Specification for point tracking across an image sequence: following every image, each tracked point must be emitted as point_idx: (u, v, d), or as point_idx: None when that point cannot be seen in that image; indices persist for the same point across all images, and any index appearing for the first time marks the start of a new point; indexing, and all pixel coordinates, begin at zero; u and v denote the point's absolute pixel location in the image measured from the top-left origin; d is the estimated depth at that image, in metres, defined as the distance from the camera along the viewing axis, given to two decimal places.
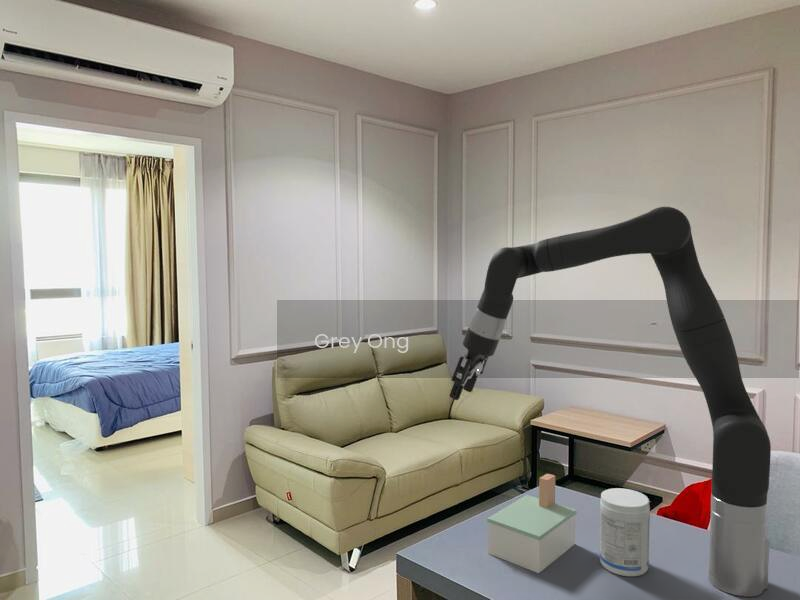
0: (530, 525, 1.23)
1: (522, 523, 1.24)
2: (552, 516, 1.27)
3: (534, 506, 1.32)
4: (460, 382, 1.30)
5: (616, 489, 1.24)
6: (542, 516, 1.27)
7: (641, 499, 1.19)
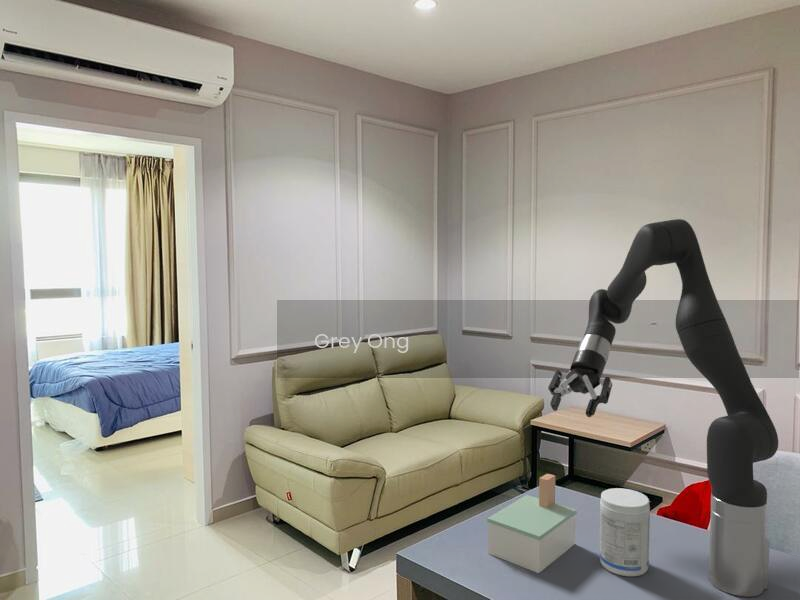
0: (530, 525, 1.23)
1: (522, 523, 1.24)
2: (552, 516, 1.27)
3: (534, 506, 1.32)
4: None
5: (616, 489, 1.24)
6: (542, 516, 1.27)
7: (641, 499, 1.19)
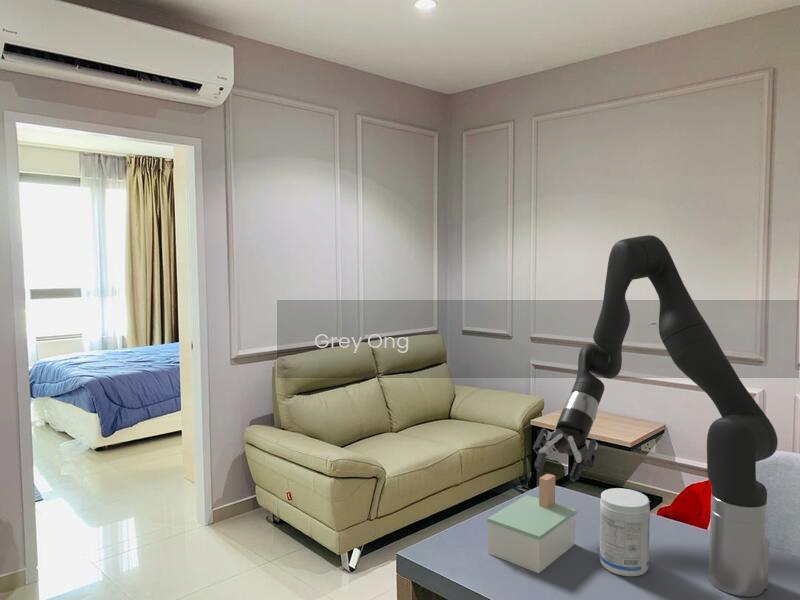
0: (530, 525, 1.23)
1: (522, 523, 1.24)
2: (552, 516, 1.27)
3: (534, 506, 1.32)
4: None
5: (616, 489, 1.24)
6: (542, 516, 1.27)
7: (641, 499, 1.19)
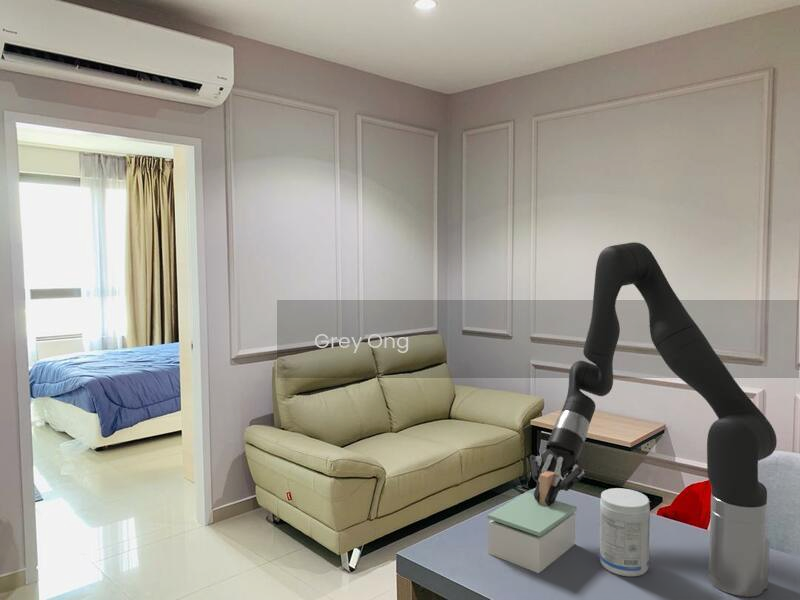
0: (530, 521, 1.23)
1: (522, 519, 1.24)
2: (552, 513, 1.27)
3: (534, 503, 1.32)
4: None
5: (616, 489, 1.24)
6: (542, 513, 1.27)
7: (641, 499, 1.19)
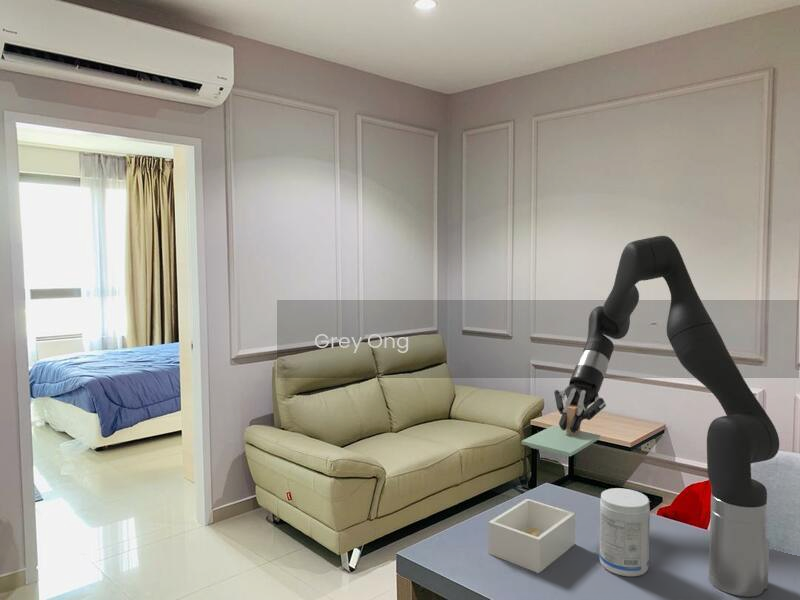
0: (561, 445, 1.38)
1: (554, 444, 1.39)
2: (579, 439, 1.42)
3: (562, 433, 1.47)
4: None
5: (616, 489, 1.24)
6: (570, 439, 1.42)
7: (641, 499, 1.19)
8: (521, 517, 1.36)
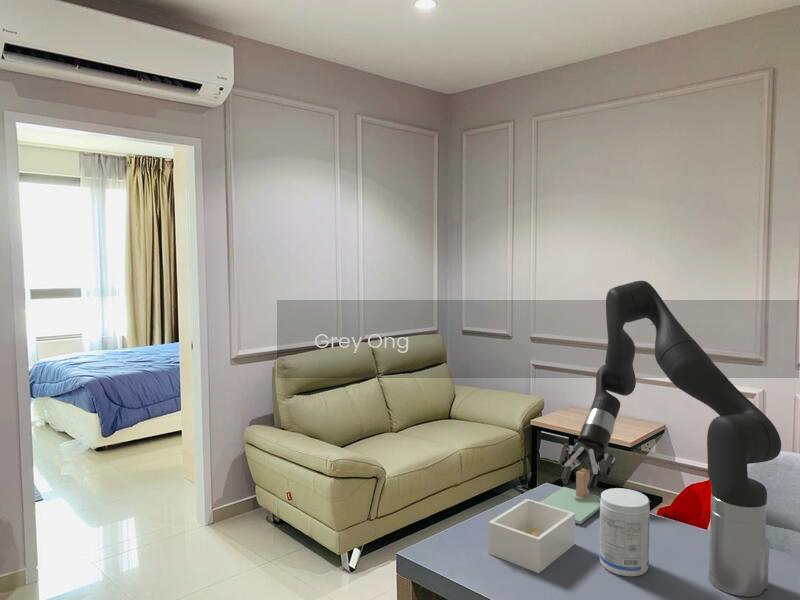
0: None
1: None
2: (588, 504, 1.48)
3: (571, 496, 1.54)
4: None
5: (616, 489, 1.24)
6: (580, 504, 1.49)
7: (641, 499, 1.19)
8: (521, 517, 1.36)
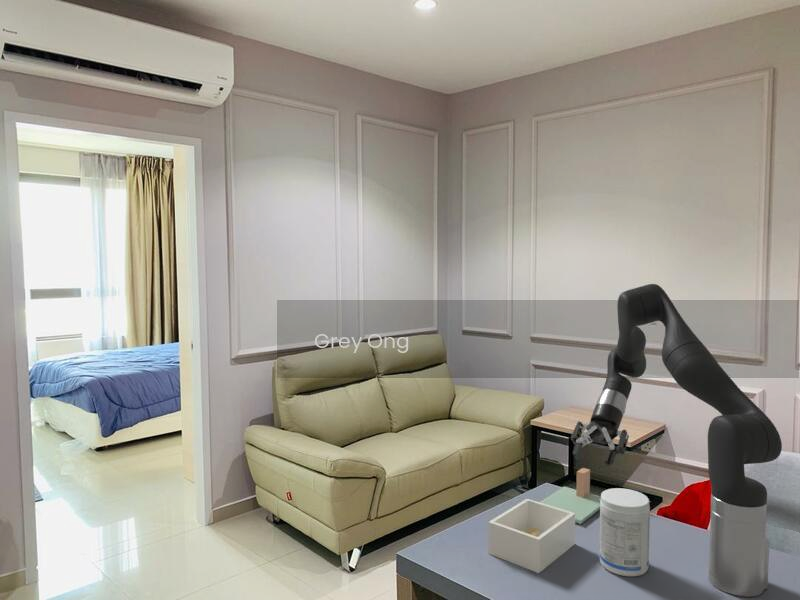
0: (571, 511, 1.45)
1: None
2: (589, 504, 1.49)
3: (572, 496, 1.54)
4: None
5: (616, 489, 1.24)
6: (580, 504, 1.49)
7: (641, 499, 1.19)
8: (521, 517, 1.36)
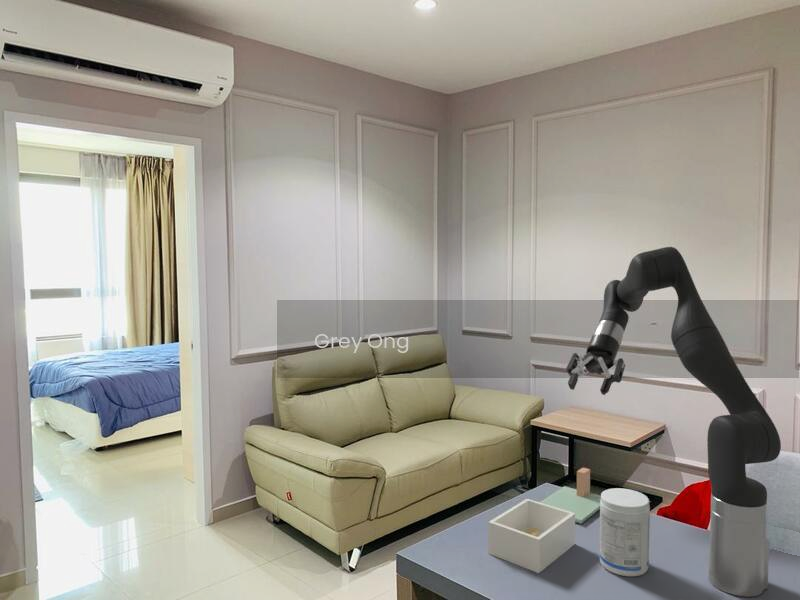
0: (572, 511, 1.45)
1: (565, 509, 1.46)
2: (589, 504, 1.49)
3: (572, 495, 1.54)
4: None
5: (616, 489, 1.24)
6: (580, 504, 1.49)
7: (641, 499, 1.19)
8: (521, 517, 1.36)
